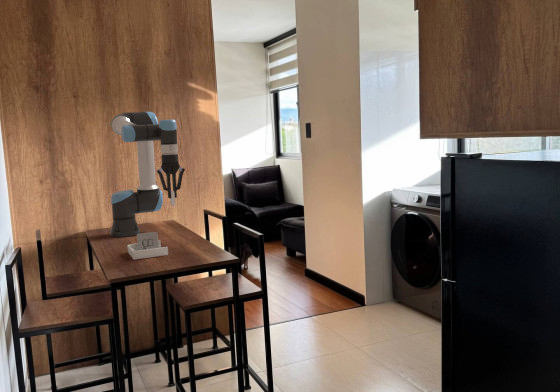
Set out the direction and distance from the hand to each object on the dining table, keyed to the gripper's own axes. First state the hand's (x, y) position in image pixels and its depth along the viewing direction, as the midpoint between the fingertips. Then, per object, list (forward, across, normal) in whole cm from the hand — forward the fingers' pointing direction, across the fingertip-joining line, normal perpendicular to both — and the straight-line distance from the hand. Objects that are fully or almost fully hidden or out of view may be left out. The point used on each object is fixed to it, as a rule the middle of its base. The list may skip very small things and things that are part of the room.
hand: (173, 205), depth 245 cm
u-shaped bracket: (+21, -13, -2) cm, 25 cm away
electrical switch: (+21, -13, 0) cm, 24 cm away
